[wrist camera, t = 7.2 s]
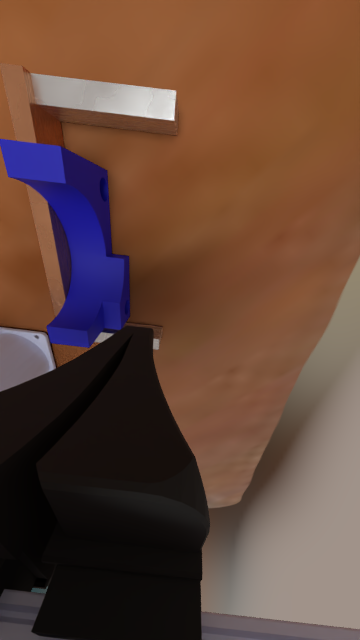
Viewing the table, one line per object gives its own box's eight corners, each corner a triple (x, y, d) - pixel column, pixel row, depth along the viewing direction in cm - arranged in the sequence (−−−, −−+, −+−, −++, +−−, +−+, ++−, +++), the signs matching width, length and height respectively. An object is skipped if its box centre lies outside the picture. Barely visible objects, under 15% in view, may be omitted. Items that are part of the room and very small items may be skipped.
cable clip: (130, 314, 20) (108, 349, 15) (87, 309, 20) (50, 342, 15) (127, 173, 15) (91, 149, 9) (68, 166, 15) (-2, 138, 9)
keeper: (77, 325, 21) (60, 341, 19) (39, 94, 13) (-1, 63, 10) (161, 336, 21) (157, 353, 19) (178, 111, 13) (175, 84, 10)
